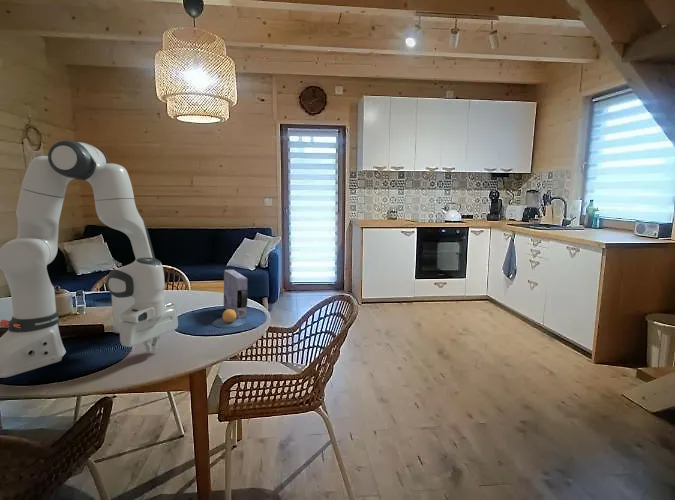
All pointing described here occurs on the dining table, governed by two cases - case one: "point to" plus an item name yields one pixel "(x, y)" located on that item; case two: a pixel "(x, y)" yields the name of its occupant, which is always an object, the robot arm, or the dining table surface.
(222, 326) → the disc
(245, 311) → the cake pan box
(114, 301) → the canister
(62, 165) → the robot arm
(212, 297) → the dining table surface
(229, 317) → the ball
